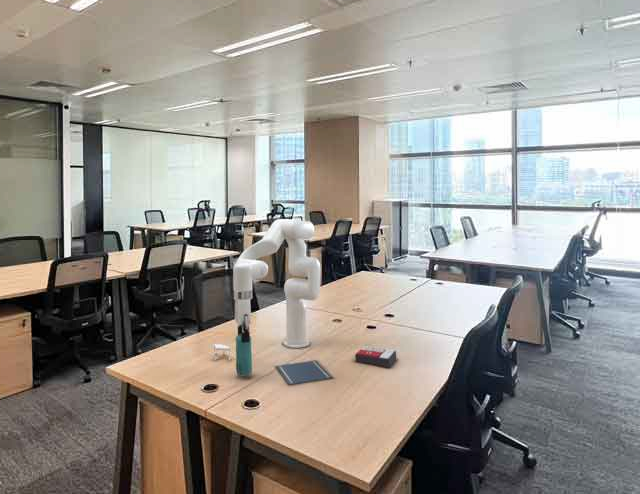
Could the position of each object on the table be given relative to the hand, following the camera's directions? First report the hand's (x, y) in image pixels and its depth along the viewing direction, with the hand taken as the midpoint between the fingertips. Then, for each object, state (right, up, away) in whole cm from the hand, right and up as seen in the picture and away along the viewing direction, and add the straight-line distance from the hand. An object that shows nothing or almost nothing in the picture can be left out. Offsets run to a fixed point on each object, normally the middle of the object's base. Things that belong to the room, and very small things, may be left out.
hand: (243, 338), depth 170 cm
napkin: (+24, -15, +3) cm, 29 cm away
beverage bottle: (0, -15, 0) cm, 15 cm away
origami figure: (-12, -16, +19) cm, 27 cm away
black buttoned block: (+56, -15, +15) cm, 60 cm away
